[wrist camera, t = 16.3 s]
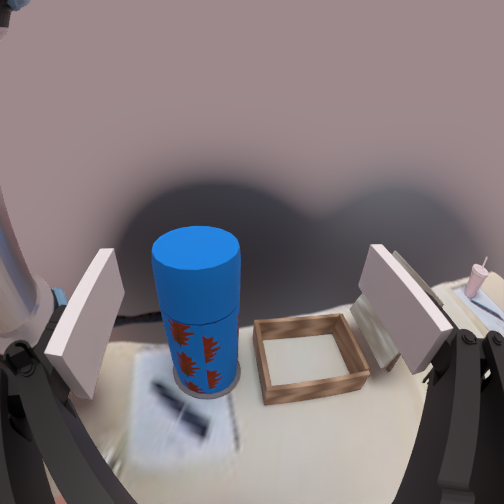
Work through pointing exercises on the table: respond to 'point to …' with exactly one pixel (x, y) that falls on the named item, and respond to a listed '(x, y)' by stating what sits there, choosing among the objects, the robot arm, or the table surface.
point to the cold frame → (345, 340)
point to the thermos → (200, 303)
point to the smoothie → (476, 279)
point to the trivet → (208, 396)
